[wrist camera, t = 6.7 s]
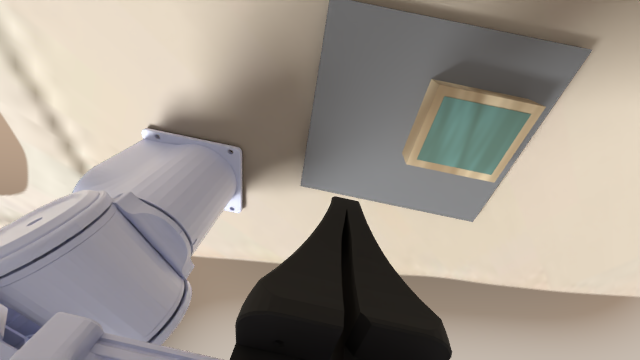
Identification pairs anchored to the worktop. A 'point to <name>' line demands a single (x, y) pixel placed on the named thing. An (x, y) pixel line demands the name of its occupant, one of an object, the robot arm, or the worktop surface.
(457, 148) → the wooden block
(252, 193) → the worktop surface
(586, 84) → the worktop surface
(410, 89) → the mat
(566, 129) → the worktop surface
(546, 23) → the worktop surface
